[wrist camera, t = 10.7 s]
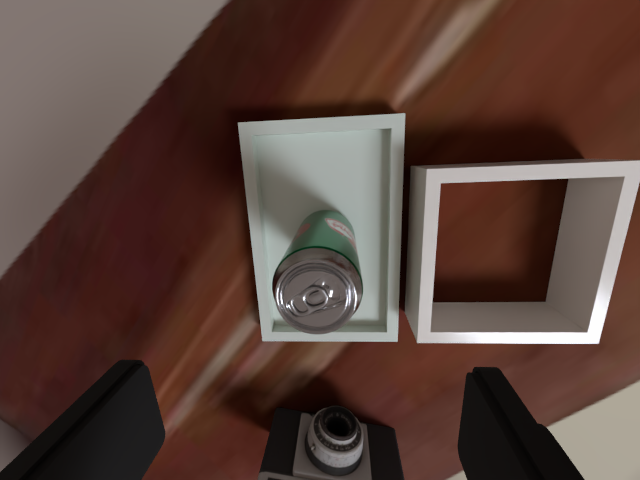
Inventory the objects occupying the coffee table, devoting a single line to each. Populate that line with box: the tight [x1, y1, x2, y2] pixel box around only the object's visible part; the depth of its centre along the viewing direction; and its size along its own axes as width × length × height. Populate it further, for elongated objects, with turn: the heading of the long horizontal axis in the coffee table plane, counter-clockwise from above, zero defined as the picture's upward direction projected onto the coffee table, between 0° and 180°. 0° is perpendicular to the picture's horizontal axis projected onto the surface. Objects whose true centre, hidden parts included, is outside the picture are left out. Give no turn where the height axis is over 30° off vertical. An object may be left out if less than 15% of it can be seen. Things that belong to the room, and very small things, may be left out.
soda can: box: [272, 210, 363, 334], centre depth 21 cm, size 5×5×12 cm
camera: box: [258, 405, 404, 480], centre depth 29 cm, size 14×8×10 cm, turn 81°
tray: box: [238, 113, 405, 342], centre depth 27 cm, size 20×13×2 cm, turn 3°
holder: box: [405, 159, 640, 344], centre depth 24 cm, size 14×14×5 cm
